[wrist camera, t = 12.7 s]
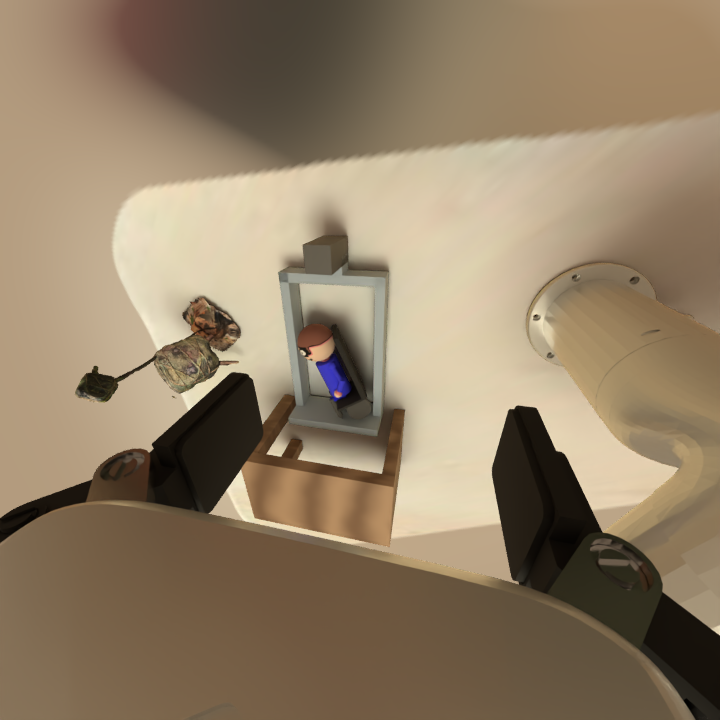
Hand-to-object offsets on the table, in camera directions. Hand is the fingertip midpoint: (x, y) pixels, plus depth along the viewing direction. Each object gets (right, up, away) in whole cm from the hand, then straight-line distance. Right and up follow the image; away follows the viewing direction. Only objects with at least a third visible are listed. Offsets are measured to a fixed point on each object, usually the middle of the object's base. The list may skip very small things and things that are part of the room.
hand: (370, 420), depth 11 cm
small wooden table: (-3, -10, +42) cm, 43 cm away
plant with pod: (-23, +7, +38) cm, 44 cm away
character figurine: (-3, +2, +35) cm, 35 cm away
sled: (-3, +6, +33) cm, 33 cm away
